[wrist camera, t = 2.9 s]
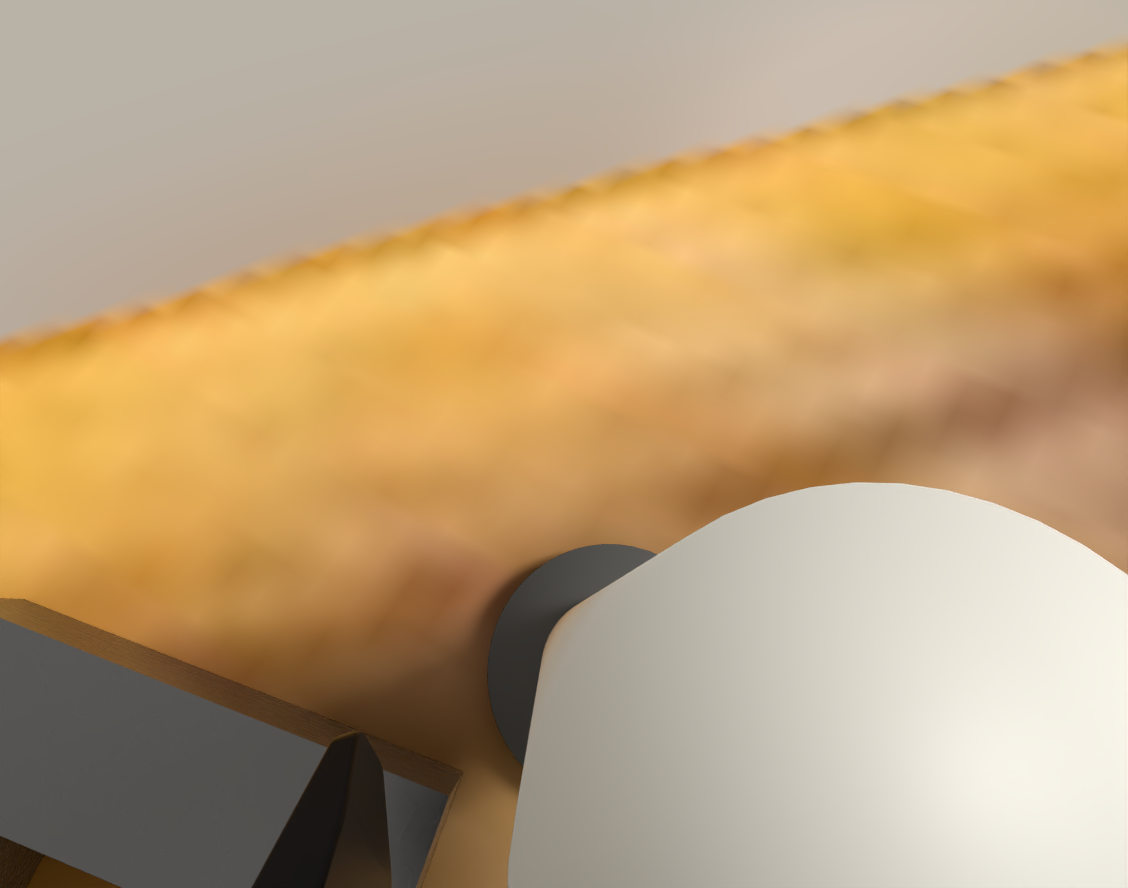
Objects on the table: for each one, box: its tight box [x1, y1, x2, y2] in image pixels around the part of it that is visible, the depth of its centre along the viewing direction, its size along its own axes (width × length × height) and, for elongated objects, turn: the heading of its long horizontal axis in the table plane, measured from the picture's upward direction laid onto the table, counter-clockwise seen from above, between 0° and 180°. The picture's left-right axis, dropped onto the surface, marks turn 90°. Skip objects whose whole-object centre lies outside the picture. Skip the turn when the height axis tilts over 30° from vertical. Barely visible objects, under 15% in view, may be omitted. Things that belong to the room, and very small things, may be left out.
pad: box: [488, 544, 657, 767], centre depth 18 cm, size 7×7×1 cm
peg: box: [508, 483, 1128, 888], centre depth 10 cm, size 4×4×15 cm
